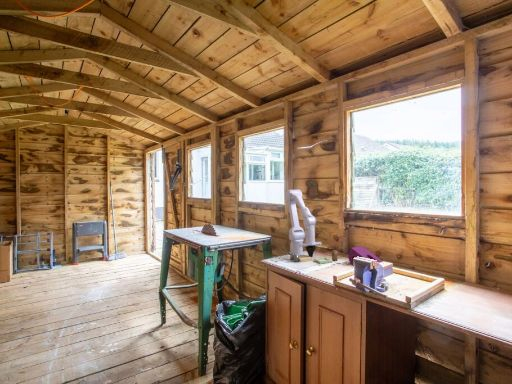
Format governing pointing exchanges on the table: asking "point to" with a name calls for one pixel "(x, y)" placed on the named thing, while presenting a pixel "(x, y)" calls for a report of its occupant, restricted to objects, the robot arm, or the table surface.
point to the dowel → (334, 255)
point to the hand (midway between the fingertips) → (310, 257)
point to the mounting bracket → (361, 254)
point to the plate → (305, 258)
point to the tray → (323, 260)
